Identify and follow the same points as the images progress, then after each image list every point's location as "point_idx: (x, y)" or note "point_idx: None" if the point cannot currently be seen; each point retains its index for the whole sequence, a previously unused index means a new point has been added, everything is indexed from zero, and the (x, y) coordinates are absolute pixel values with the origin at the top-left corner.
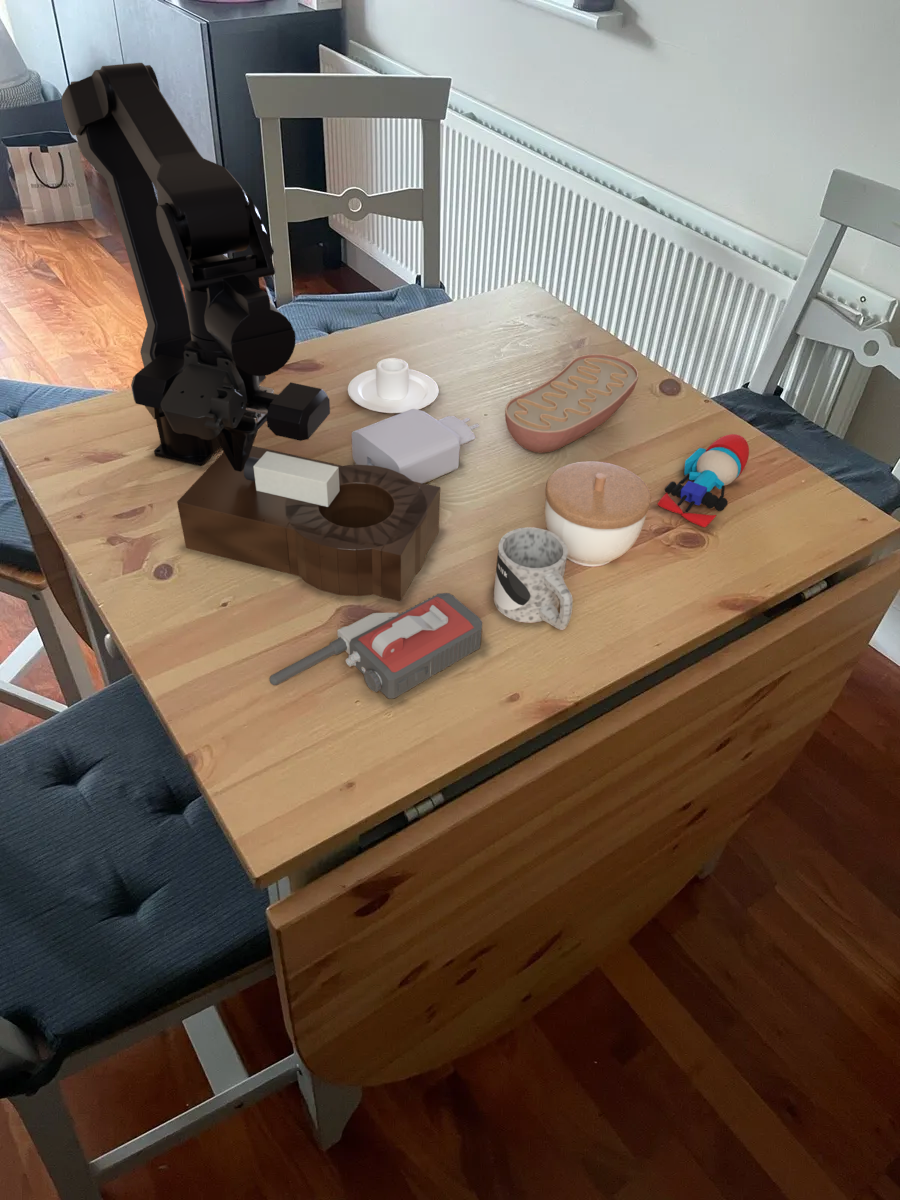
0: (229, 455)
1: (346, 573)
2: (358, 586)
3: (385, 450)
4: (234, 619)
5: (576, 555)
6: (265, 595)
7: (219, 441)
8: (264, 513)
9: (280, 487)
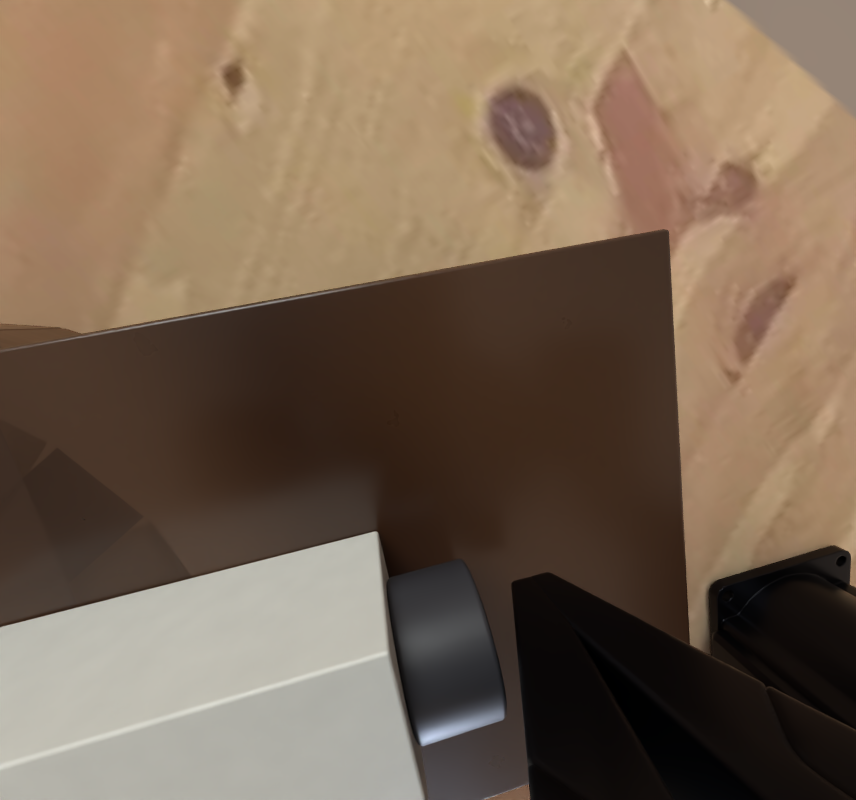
0: (623, 638)
1: None
2: None
3: None
4: (141, 17)
5: None
6: (145, 196)
7: (814, 729)
8: (189, 397)
9: (205, 610)
